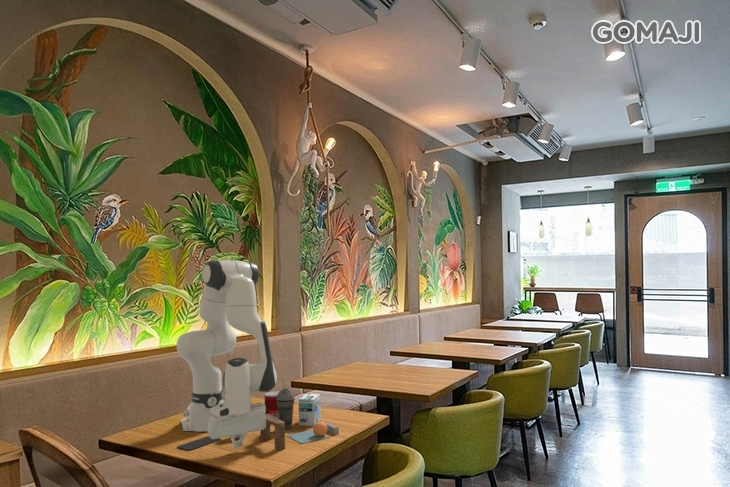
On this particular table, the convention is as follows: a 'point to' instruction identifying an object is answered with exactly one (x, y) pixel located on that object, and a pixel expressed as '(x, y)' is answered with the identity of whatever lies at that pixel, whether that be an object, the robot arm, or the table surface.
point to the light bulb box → (309, 409)
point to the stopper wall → (332, 428)
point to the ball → (320, 429)
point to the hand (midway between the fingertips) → (237, 446)
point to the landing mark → (306, 437)
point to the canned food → (271, 403)
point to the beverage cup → (285, 406)
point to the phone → (197, 443)
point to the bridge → (278, 431)
